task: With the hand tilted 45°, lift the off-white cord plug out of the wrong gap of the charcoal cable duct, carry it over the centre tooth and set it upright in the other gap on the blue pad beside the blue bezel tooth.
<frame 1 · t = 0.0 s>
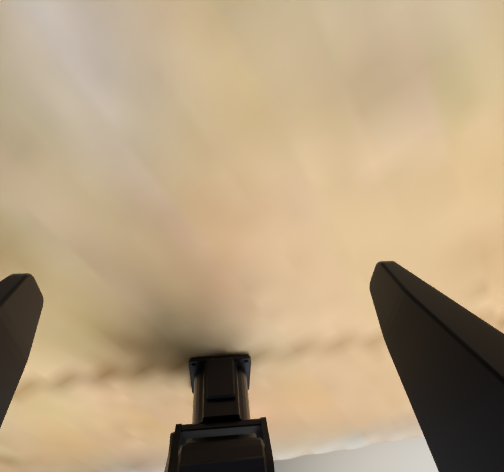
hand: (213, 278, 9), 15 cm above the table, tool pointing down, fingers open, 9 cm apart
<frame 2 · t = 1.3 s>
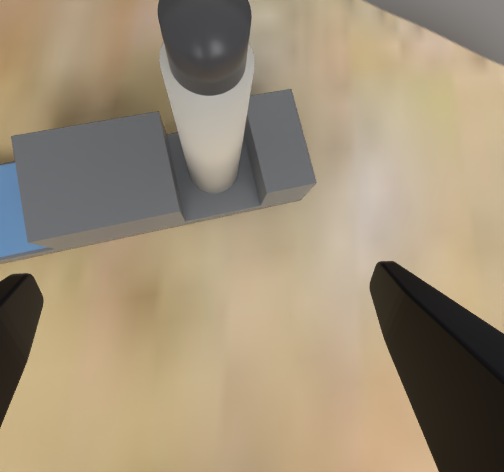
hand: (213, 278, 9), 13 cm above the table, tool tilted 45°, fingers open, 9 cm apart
cord plug: (213, 169, 22), point 1 cm above the table, touching cable duct
cable duct: (117, 193, 22), on the table
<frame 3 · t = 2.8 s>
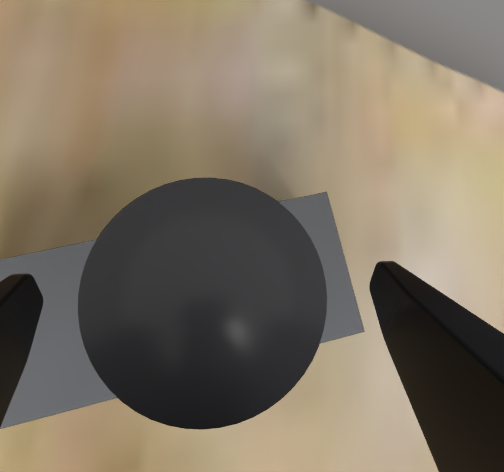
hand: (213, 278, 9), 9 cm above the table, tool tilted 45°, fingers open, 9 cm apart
cord plug: (216, 289, 16), point 1 cm above the table, touching cable duct
cable duct: (86, 320, 16), on the table
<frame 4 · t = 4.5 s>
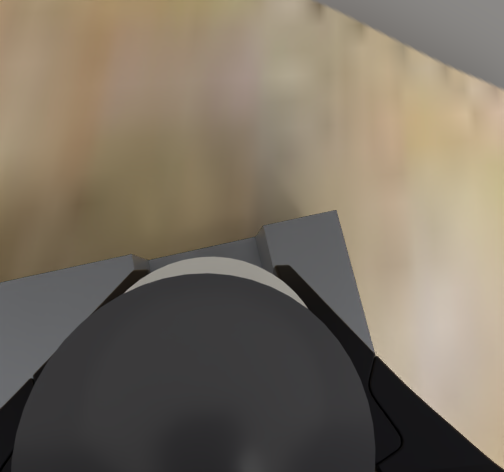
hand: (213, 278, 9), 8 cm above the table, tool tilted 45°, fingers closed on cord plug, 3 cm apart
cord plug: (216, 312, 15), point 1 cm above the table, touching cable duct, gripper
cable duct: (77, 345, 15), on the table
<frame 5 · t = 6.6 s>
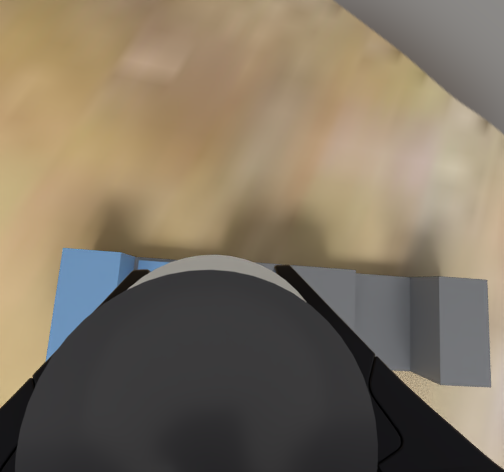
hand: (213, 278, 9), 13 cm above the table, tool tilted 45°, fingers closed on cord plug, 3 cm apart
cord plug: (217, 311, 15), point 7 cm above the table, touching gripper
cable duct: (272, 313, 22), on the table
when the fingers open (8 cm above the table, at t = 8.7 s): cord plug stays where it is, resting on cable duct.
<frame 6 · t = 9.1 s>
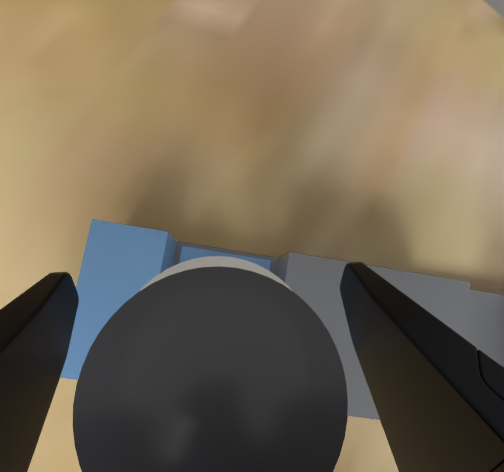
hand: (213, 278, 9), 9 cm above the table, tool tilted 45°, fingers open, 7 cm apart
cord plug: (216, 312, 16), point 1 cm above the table, touching cable duct
cable duct: (340, 327, 18), on the table
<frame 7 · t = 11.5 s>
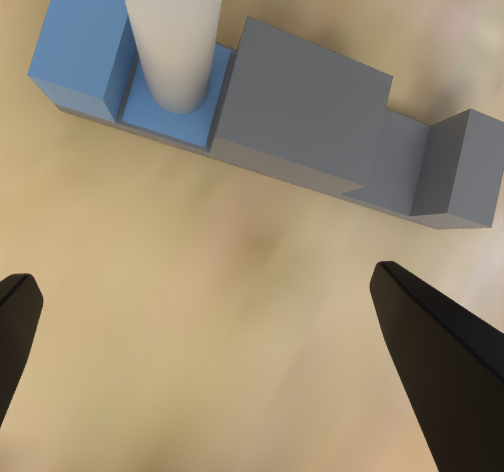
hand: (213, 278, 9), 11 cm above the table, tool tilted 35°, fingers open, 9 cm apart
cord plug: (177, 84, 18), point 1 cm above the table, touching cable duct
cable duct: (284, 130, 20), on the table
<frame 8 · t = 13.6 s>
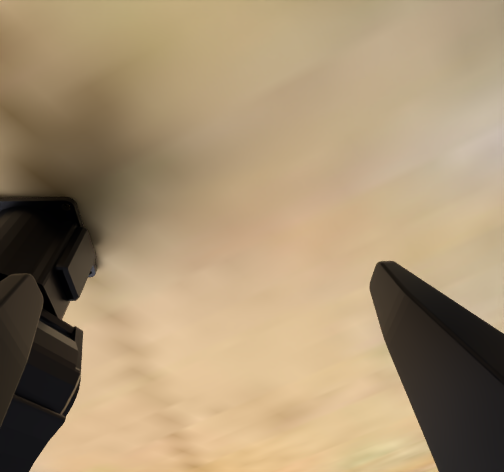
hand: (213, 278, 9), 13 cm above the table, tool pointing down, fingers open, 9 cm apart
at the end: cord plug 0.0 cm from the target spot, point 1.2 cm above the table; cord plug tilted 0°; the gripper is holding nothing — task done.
